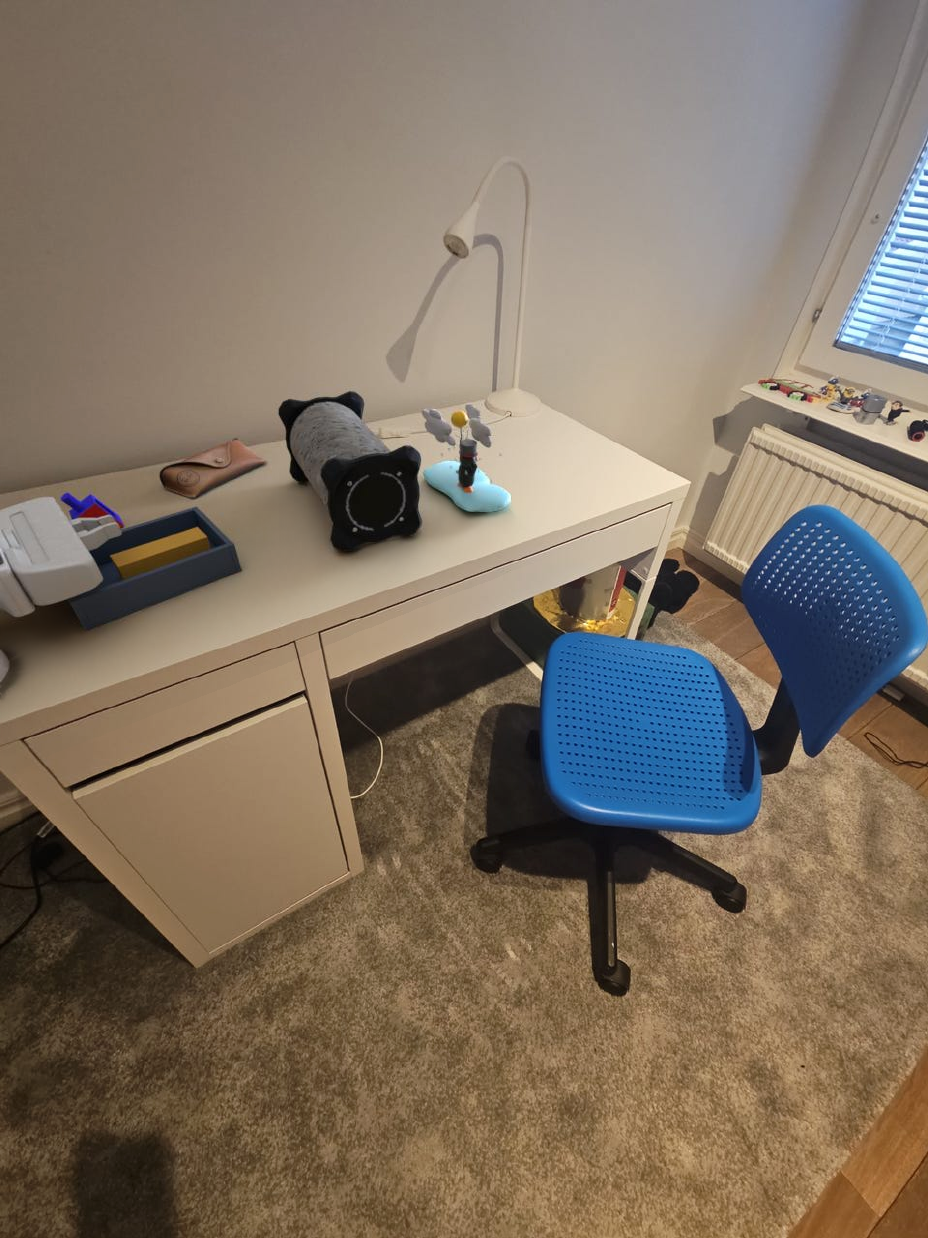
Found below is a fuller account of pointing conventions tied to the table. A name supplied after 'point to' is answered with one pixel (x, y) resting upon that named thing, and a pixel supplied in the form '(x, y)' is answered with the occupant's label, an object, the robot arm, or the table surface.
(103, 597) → the bin
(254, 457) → the sunglasses case
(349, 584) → the table surface
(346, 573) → the table surface
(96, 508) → the toy building block
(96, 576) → the robot arm
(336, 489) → the speaker
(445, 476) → the penguin figurine
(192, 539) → the wooden stick
